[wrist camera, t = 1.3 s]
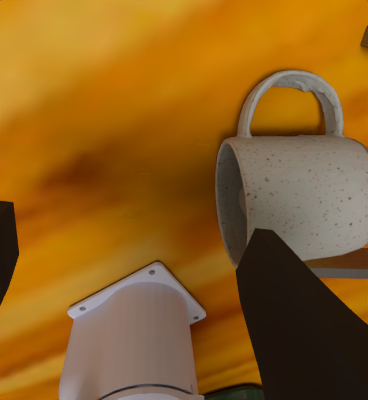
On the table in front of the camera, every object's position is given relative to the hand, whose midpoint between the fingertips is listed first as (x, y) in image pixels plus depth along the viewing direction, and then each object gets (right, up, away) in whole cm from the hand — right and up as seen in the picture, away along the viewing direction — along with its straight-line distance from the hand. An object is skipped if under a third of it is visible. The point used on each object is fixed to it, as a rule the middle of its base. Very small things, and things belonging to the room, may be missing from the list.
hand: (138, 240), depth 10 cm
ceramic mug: (+7, +5, +12) cm, 15 cm away
